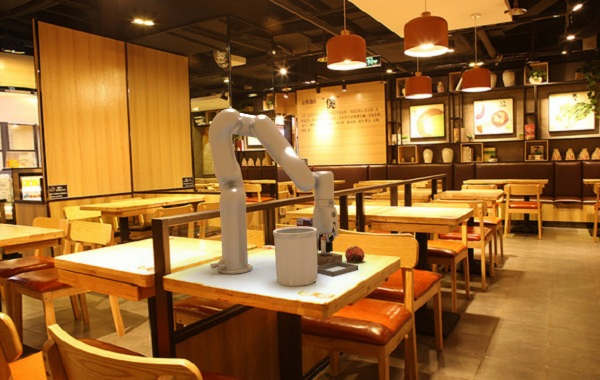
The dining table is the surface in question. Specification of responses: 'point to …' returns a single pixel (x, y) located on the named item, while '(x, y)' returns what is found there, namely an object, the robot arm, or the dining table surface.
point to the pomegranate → (354, 254)
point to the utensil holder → (296, 255)
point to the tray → (338, 272)
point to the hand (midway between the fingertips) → (325, 250)
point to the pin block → (328, 259)
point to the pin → (324, 247)
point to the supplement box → (306, 224)
